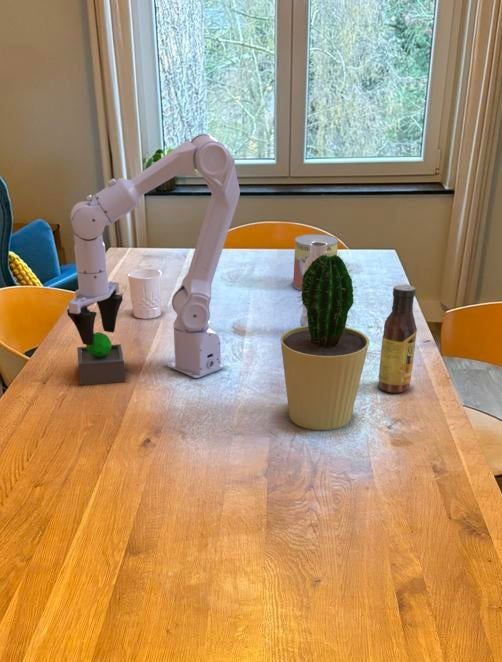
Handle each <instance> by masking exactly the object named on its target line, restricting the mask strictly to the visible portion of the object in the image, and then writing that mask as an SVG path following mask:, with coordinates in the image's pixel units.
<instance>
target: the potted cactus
mask: <svg viewBox="0 0 502 662" xmlns="http://www.w3.org/2000/svg"><path fill="white" fill-rule="evenodd" d="M340 252H341V251H339V253H338V254H337V255H333V256H330V255H329V256H330V257H329V256H327V255H322V256H321V255H320V256H319V258H317V259H316V260H315V261H312V263H311V264H310V266H309V265H308V266H309V267H308V266H307V267H308V269H307V270H306V271H305V270H304V269H303V268H302V269H303V270H304V271H305V273H303V274H304V275H303V283H302V290H300V289H299V290H298V291H297V292H296V293H297V294H300V295H299V297H298V296H297V299H298V301H299V302H301V303H302V304H301V305H299V308H302V307H303V305H305V307H306V309H307V310H306V311H307V316H308V319H307V320H308V326H301V325H300V326H297V327H294V328H291V329H289V330H286V331H285V332H284V333H283V334H281V336H280V348H281V356H282V365H283V374H284V382H285V389H286V390H285V391H286V398H287V399H286V401H287V408H288V409H287V410H288V416H289V419H290V420H291V422H292V423H294V424H295V425H297V426H298V427H301V428H305V429H308V430H313V431H330V430H331V431H332V430H336V429H340V428H342V427H345V426H346V425H347V424H349V422H350V420H351V418H352V415H353V411H354V406H355V403H356V398H357V394H358V389H359V385H360V382H361V377H362V375H363V369H364V365H365V362H366V359H367V358H366V357H367V354H368V348H369V346H370V339H369V337H368V336H367V335H366V334H364V333H363V332H362V331H359V330H357V329H354V328H351V327H347V326H349V324H347V321H348V320H349V319H350V318H351V316H348V314H349V313H353V310H351V308H352V307H353V305H357V303H356V302H357V300H356V299H355V298H354V295H356V293H357V292H358V291H359V290H358V289H356V288H357V286H353V283H355V282H356V281H357V279H355V280H352V276H351V274H350V273H351V272H352V271H354V269H353V270H352V269H350V270H348V268H349V265H347V264H349V261H348V259H346V260H345V261H344V259H343V258H342V257H341V255H342V254H340ZM318 254H319V253H318ZM313 257H314V255H313ZM314 259H315V257H314ZM309 263H310V262H309ZM301 274H302V273H301ZM298 282H299V281H298ZM298 285H299V284H298ZM300 286H301V285H300ZM296 287H297V286H296ZM299 288H300V287H299ZM354 289H355V290H354ZM356 290H358V291H356ZM354 291H355V292H354ZM355 301H356V302H355ZM304 311H305V310H304ZM305 313H306V312H305ZM304 315H305V314H304ZM304 318H306V317H304ZM303 323H304V322H303Z"/></svg>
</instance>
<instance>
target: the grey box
mask: <svg viewBox="0 0 502 662" xmlns="http://www.w3.org/2000/svg"><path fill="white" fill-rule="evenodd" d="M111 345H112V347H111V350H110V352H109V354H108V355H106V356H105V357H102V358H97V357H94V356H92V355H91V354H90V353H89V352H88V350H87V347H86V346H78V347H77V348H76V350H77V366H78V374H79V375H78V376H79V383H80V386H89V385H100V384H102V385H103V384H115V383H126V381H127V380H126V370H125V369H126V367H125V358H124V353H123V347H122V344H121V343H119V344H111Z"/></svg>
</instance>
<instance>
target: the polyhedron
mask: <svg viewBox="0 0 502 662" xmlns="http://www.w3.org/2000/svg"><path fill="white" fill-rule="evenodd" d="M112 345H113V344H112V341H111V339H110V338H109V336H108V335H107V334H105V333H103V332H99V331H98V332H94V343H93V345H86V344H85V347H87V350H88V352H89V353H90V354H91V355H92V356H94V357H97V358H102V357H105V356H106V355H108V354H109V352H110V350H111V347H112Z"/></svg>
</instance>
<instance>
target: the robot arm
mask: <svg viewBox="0 0 502 662" xmlns="http://www.w3.org/2000/svg"><path fill="white" fill-rule="evenodd" d="M195 171H197V172H198V173H200V175H201V176H202V177H203V179H204V181H205V183H206V185H207V188H208V189H209V191H210V193H211V195H210V199H209V202H208V205H207V208H206V212H205V215H204V219H203V222H202V225H201V229H200V232H199V235H198V239H197V241H196V245H195V248H194V252H193V255H192V259H191V262H190V265H189V267H188V272H187V274H186V275H185V276H184V278H183V279H182V281H181V284H180V287H179V288H178V289H177V290H176V291H175V292H174V294H173V296H172V298H171V307H172V309H173V311H174V312H175V313H176V318H175V319H174V321H173V342H174V343H173V344H174V345H173V346H174V360H173V361H170V362H168V363H166V367H168V368H169V369H173V370H174V371H177V372H180V373H181V374H184V375H186V376H188V377H191V378H194V379H199V378H201V377H205V376H208V375H209V374H212V373H215V372H217V371H220V370H222V369H224V365H222V364H221V363H222V362H221V340H220V337H219V335H218V334H217V333H216V332H214V331H213V330H212V329H211V327H210V318H211V310H210V303H211V300H212V284H213V280H214V277H215V274H216V271H217V268H218V264H219V262H220V258H221V255H222V252H223V250H224V247H225V243H226V240H227V238H228V237H227V236H228V234H229V231H230V227H231V224H232V220H233V218H234V215H235V211H236V208H237V205H238V202H239V200H240V199H239V198H240V195H241V190H240V185H239V181H238V176H237V175H238V174H237V171H236V161H235V159H234V157H233V155H232V153H231V152H230V150H229V149H228V147H227V146H226V145H225V144H224V143H223V142H221V141H219V140H217V138H215V137H214V136H213V135H212V134H209V133H199V134H197V135H195V136H193V138H192V139H191V140H185V141H183V142H182V143H180V144H179V145H178V146H176V147H175V148H174V149H172V150H170V151H169V152H168V153H166V154H165V155H163V156H162V157H161V158H159V159H158V160H157V161H155V162H154V163H153V164H151V165H150V166H148V167H147V168H146V169H144V170H143V171H142V172H140V173H138V174H137V175H136V176H135V177H133V178H132V179H126V178H122V177H119V178H118V179H117V180H115V178H111V179H110V180H108V181H107V184H108V186H106V187H105V188H103V189H102V190H100V191H98V192H97V193H95V194H94V195H92V194H89V195H87V196H86V200H87V201H84V200H83V201H79V202H77V203H76V204H74V206H73V207H72V209H71V211H70V216H69V221H70V224H71V225H72V226H71V227H72V230H73V242H74V246H73V248H74V259H75V266H76V267H75V269H76V275H77V285H78V289H76V290H75V291H74V293H75V296H74V297H73V299H72V300H71V301H70V302H68V308H67V310H66V312H67V313H66V314H67V317H69V318H70V320H71V321H72V323H73V324H74V326H75V328H76V330H77V332H78V335H79V337H80V340H81V343H82V344H83V345H85V346H86V345H93V343H94V333H95V331H94V330H95V329H94V327H95V320H96V316H97V314H98V313H97V312H96V311H91V310H90V309H89V308H88V307H90V306H92V305H94V304H96V305H97V308H98V311H99V313H100V318H101V324H102V328H103V332H106V333H114V332H115V330H116V325H117V324H116V323H117V318H118V313H119V310H120V307H121V304H122V302H123V300H124V299H123V295H121V294H119V293H120V285H119V282H117V281H109V277H108V275H109V274H108V267H107V266H108V264H107V256H106V254H107V253H106V245H105V242H104V237H103V233H104V230H105V228H106V226H110V225H112V224H114V223H115V222H116V221H118V220H119V219H121V218H123V217H124V216H126V215H127V214H129V213H130V212H132V211H134V210H135V209H137V208H138V206H139V202H140V199H141V197H143V196H144V195H145V194H147V193H149V192H151V191H153V190H154V189H155V188H157V187H159V186H161V185H162V184H164V183H167V182H168V181H169V180H171V179H173V178H174V177H176V176H188V177H190V176H191V177H195V176H196V172H195Z"/></svg>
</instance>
